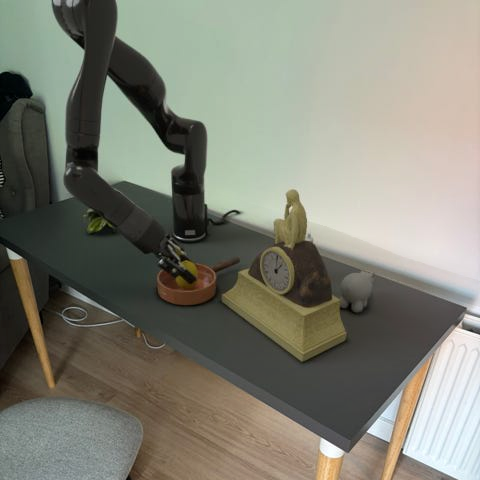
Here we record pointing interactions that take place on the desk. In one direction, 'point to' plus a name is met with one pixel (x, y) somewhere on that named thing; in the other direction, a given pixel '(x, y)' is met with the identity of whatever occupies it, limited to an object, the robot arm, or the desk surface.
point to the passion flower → (95, 221)
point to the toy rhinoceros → (356, 290)
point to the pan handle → (225, 264)
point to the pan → (192, 296)
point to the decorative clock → (290, 290)
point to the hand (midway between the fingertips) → (194, 274)
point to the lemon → (193, 270)
